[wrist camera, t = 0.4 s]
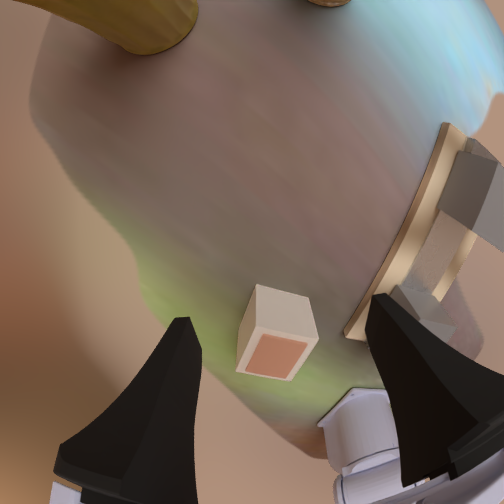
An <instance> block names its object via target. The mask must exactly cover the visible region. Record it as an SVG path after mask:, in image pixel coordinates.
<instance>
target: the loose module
mask: <svg viewBox="0 0 504 504" xmlns="http://www.w3.org/2000/svg"><path fill="white" fill-rule="evenodd" d="M318 340H319V338H318V334H317V330H316V325H315V321H314V317H313V314H312V310H311V306H310V302H309V298H308V297H304V296H300V295H296V294H292V293H288V292H285V291H281V290H277V289H273V288H270V287H266V286H262V285H258V284H256V286H255V288H254V291H253V293H252V296H251V298H250V301H249V303H248V306H247V309H246V311H245V314H244V316H243V319H242V321H241V324H240V326H239V329H238V342H237V355H236V368H235V371H236V372H240V373H245V374H250V375H255V376H261V377H266V378H272V379H278V380H284V381H290V382H291V380H292V379H293V377H294V376H295V375H296V373H297V372H298V370H299V369H300V367H301V366H302V364H303V363H304V361H305V360H306V358H307V357H308V355H309V354H310V352H311V351H312V349H313V348H314V346H315V345H316V343H317V342H318Z"/></svg>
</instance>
